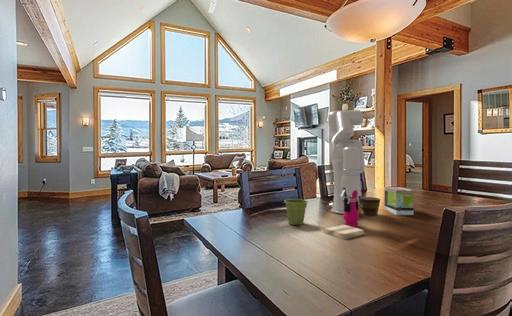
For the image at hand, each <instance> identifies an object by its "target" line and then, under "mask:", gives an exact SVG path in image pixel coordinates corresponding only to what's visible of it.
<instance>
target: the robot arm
mask: <svg viewBox="0 0 512 316" xmlns="http://www.w3.org/2000/svg"><path fill="white" fill-rule="evenodd" d="M363 115H364V114H363V113H362V111H361V110H360V109H352V110H351V109H348V110H334V111H331V112H329V114H328V116H327V117H328V118H327V119H328V127H329V129H330V131H331V134H332V139H331V141H330V143H329V149H330V151H329V152H330V159H331V160H332V163H331V164H332V172H333V202H330V203H329V205H328V206H329V207H332V208H331V209H330V212H332V213H335V214H342V215H344V212H350V204H349V203H350V197H352V193H353V191H354V190H357V192H358V195H357V197H356V198H357V199H356V200H357V201H356V209H357V211H358V212H359V206H358V205H359V203H360V201H359V200H361V198H362V197H363V196H362V195H363V193H362V181H361V175H360V174H362V173H364V171H365V167H366V166H365V154H364V146H363V143H362V142H361V140H359V139H351V138H352V137H353V136H354V133H355V132H354V131H355V130H354V126H362V124H363V122H364V116H363ZM346 195H347V197H346ZM346 198H348V199H346Z"/></svg>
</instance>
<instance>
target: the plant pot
mask: <svg viewBox="0 0 512 316" xmlns="http://www.w3.org/2000/svg"><path fill="white" fill-rule="evenodd" d="M284 202H285V209H286V214H287V221H288V224H290V225H294V226H296V225H299V226H300V225H303V224H304V221H305V216H306V215H305V214H306V208H307V205H308V203H309V200H307V199H306V200H305V199H300V198H299V199H298V198H296V199H295V198H293V199H292V198H291V199H290V198H289V199H284Z"/></svg>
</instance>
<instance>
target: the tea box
mask: <svg viewBox="0 0 512 316" xmlns="http://www.w3.org/2000/svg"><path fill="white" fill-rule="evenodd" d="M414 206H415V190H413V189H409V188H405V187H396V186H395V187H394V186H392V187H391V186H389V187H387V186H386V187H384V210H386V211H387V212H390V213H391V214H393V215H395V216H414V212H415V211H414V209H415V207H414Z"/></svg>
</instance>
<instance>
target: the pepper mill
mask: <svg viewBox="0 0 512 316" xmlns="http://www.w3.org/2000/svg"><path fill="white" fill-rule="evenodd" d="M357 195H358V192H357V190H354V191H353V193H352V197H350V203H349V204H350V212H344V214H342V215H343V217H342V218H343V220H344V222H343V223H344V224H343V225H347V226H351V227H355V228H358V227H359V222H358V221H359V219H360V214H359V210H358V211H357V209H356V201H357V200H356V199H357V198H356V197H357ZM346 197H347V195H346ZM346 199H348V198H346Z"/></svg>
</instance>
